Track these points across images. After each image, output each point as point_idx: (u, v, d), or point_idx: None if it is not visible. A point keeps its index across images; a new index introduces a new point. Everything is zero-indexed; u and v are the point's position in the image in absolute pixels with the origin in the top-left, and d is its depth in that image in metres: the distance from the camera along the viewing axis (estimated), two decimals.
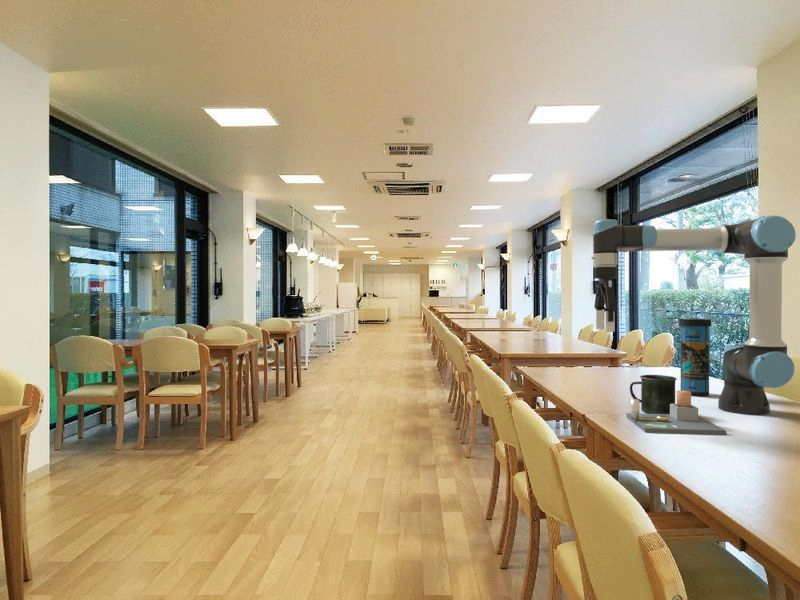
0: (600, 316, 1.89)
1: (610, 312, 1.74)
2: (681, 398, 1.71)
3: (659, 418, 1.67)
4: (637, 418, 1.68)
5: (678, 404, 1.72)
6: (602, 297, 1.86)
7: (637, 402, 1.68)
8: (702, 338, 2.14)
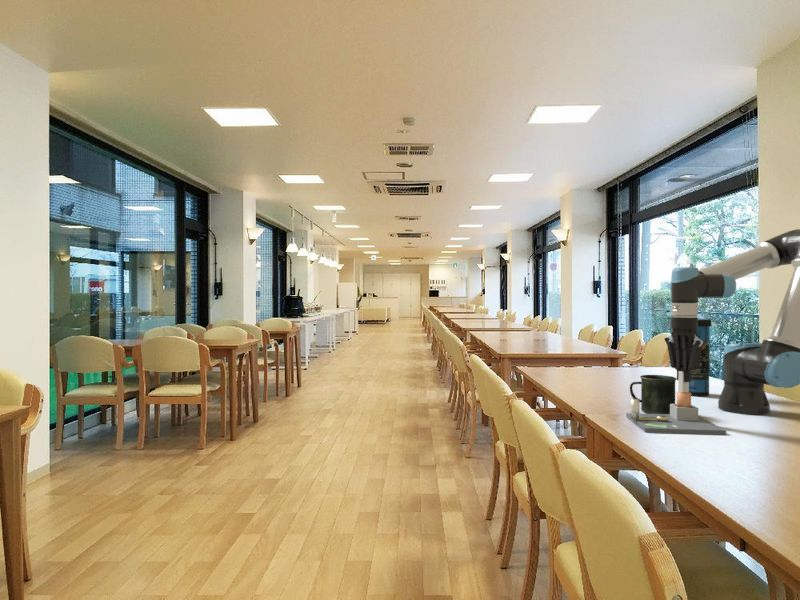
0: None
1: (688, 372, 1.70)
2: (681, 399, 1.71)
3: (659, 418, 1.67)
4: (637, 418, 1.68)
5: (678, 405, 1.72)
6: (682, 351, 1.72)
7: (637, 402, 1.68)
8: (702, 338, 2.13)
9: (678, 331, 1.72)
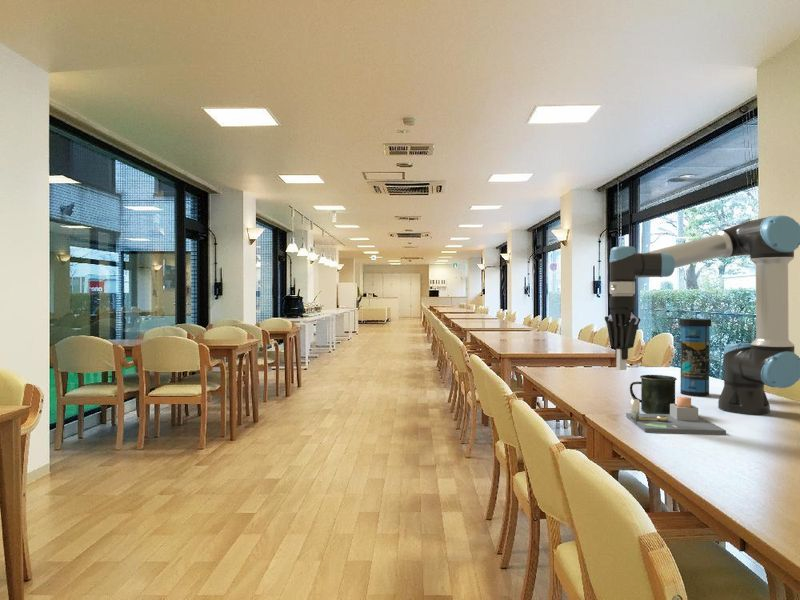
0: None
1: (625, 350, 1.72)
2: (681, 404, 1.71)
3: (659, 418, 1.67)
4: (637, 418, 1.68)
5: None
6: (620, 329, 1.75)
7: (637, 402, 1.68)
8: (702, 338, 2.14)
9: (616, 310, 1.75)
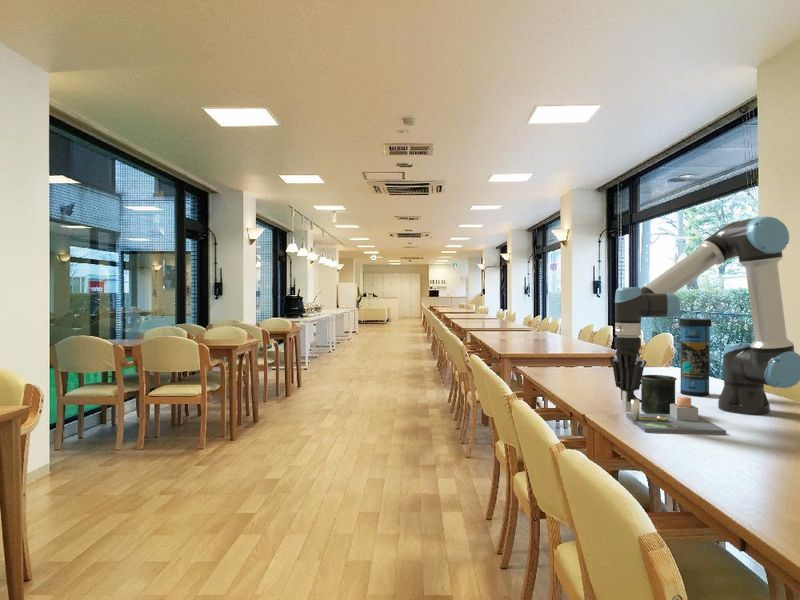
0: None
1: (631, 392, 1.70)
2: (681, 404, 1.71)
3: (659, 418, 1.67)
4: (637, 418, 1.68)
5: None
6: (626, 371, 1.73)
7: (637, 402, 1.68)
8: (702, 338, 2.13)
9: (622, 351, 1.73)
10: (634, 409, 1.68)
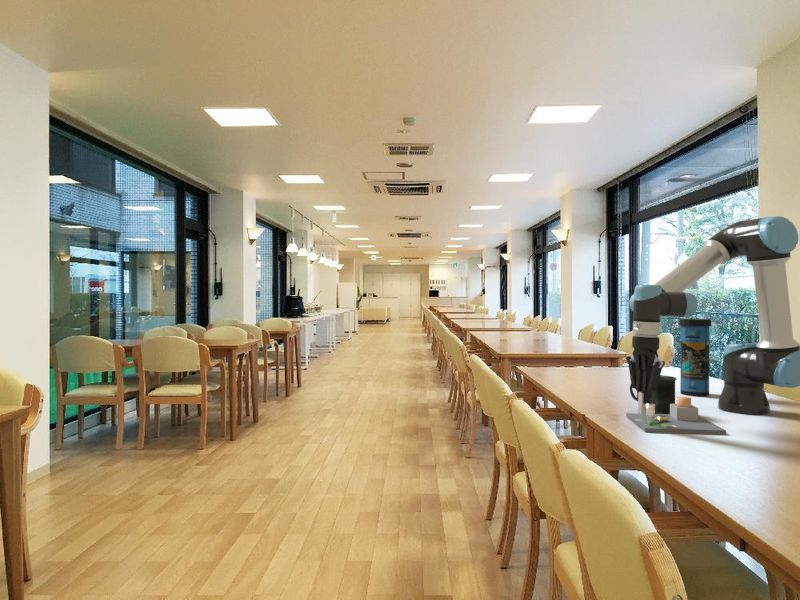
0: None
1: (647, 394, 1.64)
2: (681, 404, 1.71)
3: (664, 419, 1.67)
4: (654, 422, 1.62)
5: None
6: (642, 371, 1.66)
7: (654, 406, 1.62)
8: (702, 338, 2.14)
9: (639, 350, 1.66)
10: (653, 414, 1.62)
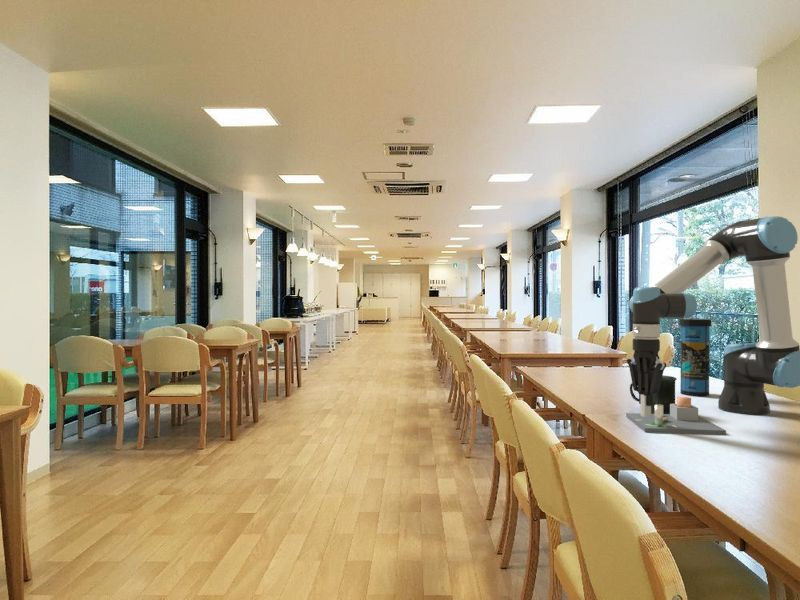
0: None
1: (650, 396, 1.64)
2: (681, 404, 1.71)
3: (665, 419, 1.67)
4: None
5: None
6: (644, 374, 1.66)
7: None
8: (702, 338, 2.13)
9: (640, 353, 1.66)
10: (662, 415, 1.60)
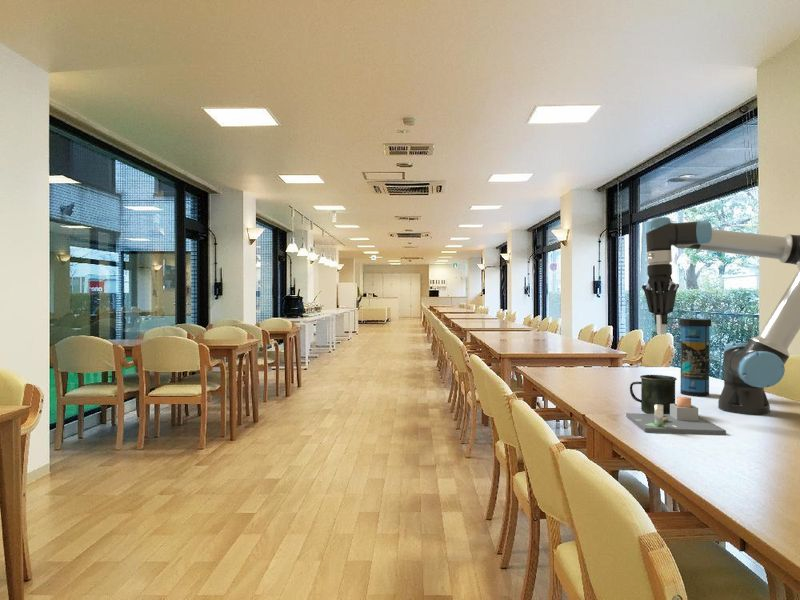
0: None
1: (665, 315, 1.83)
2: (681, 404, 1.71)
3: (665, 419, 1.67)
4: None
5: None
6: (658, 296, 1.85)
7: None
8: (702, 338, 2.14)
9: (654, 278, 1.85)
10: (662, 415, 1.60)
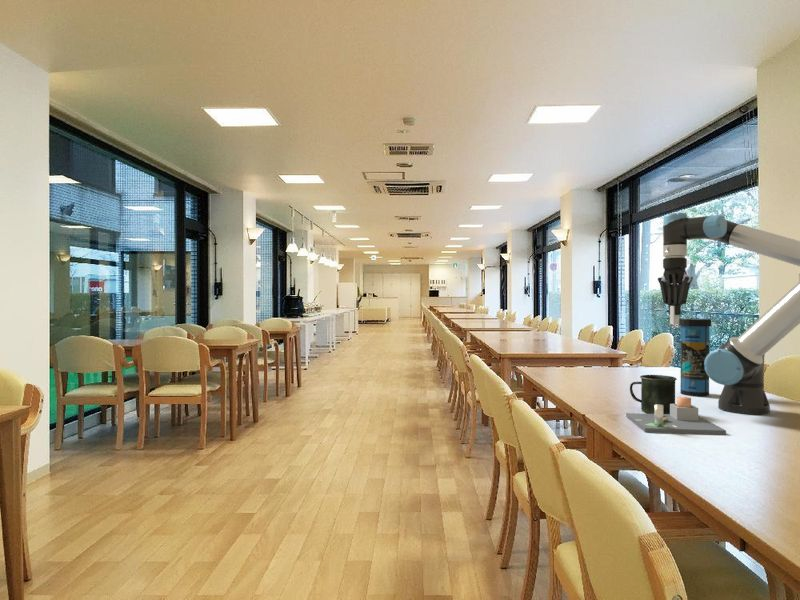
0: None
1: (678, 306, 1.92)
2: (681, 404, 1.71)
3: (665, 419, 1.67)
4: None
5: None
6: (673, 288, 1.94)
7: None
8: (702, 338, 2.14)
9: (669, 270, 1.94)
10: (662, 415, 1.60)
